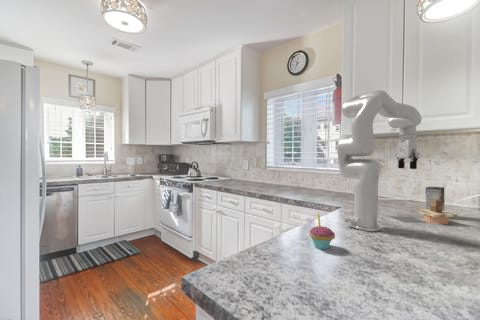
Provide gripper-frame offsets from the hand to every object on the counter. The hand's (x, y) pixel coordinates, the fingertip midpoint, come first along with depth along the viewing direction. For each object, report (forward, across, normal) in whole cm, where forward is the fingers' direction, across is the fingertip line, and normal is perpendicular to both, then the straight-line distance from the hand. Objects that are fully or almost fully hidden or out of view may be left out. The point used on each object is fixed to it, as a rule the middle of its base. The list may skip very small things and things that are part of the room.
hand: (407, 168), depth 126 cm
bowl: (+26, +12, +7) cm, 30 cm away
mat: (+27, +9, -5) cm, 29 cm away
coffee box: (+27, -2, +16) cm, 31 cm away
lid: (+22, +12, +7) cm, 26 cm away
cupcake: (+28, +49, -61) cm, 83 cm away
